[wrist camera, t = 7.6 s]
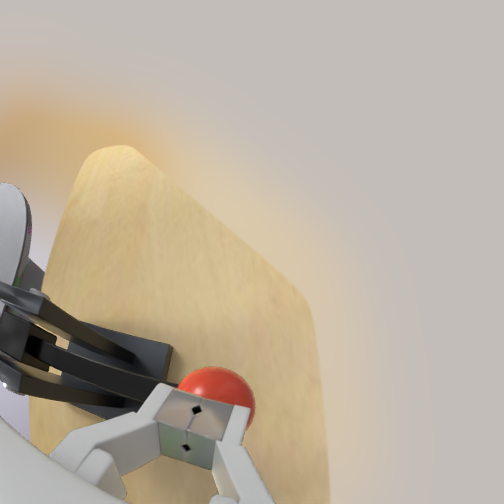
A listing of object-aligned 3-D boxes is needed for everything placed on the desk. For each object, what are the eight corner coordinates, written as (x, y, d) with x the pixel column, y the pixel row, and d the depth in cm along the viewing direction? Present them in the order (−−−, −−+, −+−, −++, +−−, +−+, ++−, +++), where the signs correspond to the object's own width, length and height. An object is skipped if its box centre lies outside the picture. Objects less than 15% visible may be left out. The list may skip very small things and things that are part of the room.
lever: (261, 377, 12) (259, 368, 9) (251, 444, 10) (246, 456, 8) (35, 320, 14) (2, 299, 11) (23, 366, 12) (-13, 351, 9)
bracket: (173, 347, 23) (96, 278, 11) (156, 433, 19) (56, 448, 7) (81, 323, 24) (-13, 251, 12) (63, 398, 20) (-49, 365, 8)
